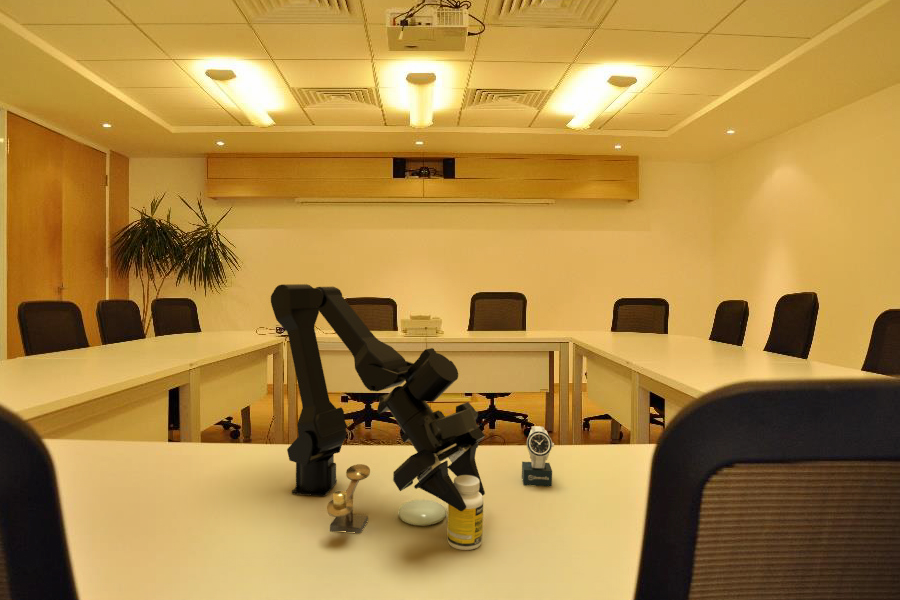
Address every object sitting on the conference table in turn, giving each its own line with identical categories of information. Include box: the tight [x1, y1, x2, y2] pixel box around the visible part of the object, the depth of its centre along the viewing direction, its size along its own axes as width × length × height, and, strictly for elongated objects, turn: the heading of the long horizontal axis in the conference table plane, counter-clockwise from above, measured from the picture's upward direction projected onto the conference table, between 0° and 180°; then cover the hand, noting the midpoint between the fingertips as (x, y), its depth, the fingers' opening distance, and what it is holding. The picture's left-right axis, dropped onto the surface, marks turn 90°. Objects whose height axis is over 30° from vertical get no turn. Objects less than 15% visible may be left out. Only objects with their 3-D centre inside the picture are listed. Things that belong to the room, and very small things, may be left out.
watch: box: [521, 425, 555, 487], centre depth 101 cm, size 6×8×11 cm
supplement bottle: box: [446, 475, 484, 551], centre depth 78 cm, size 5×5×10 cm
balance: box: [326, 463, 371, 534], centre depth 82 cm, size 5×13×8 cm, turn 173°
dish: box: [398, 499, 447, 526], centre depth 86 cm, size 8×8×1 cm
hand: (473, 502), depth 77 cm, fingers closed on supplement bottle, 5 cm apart
